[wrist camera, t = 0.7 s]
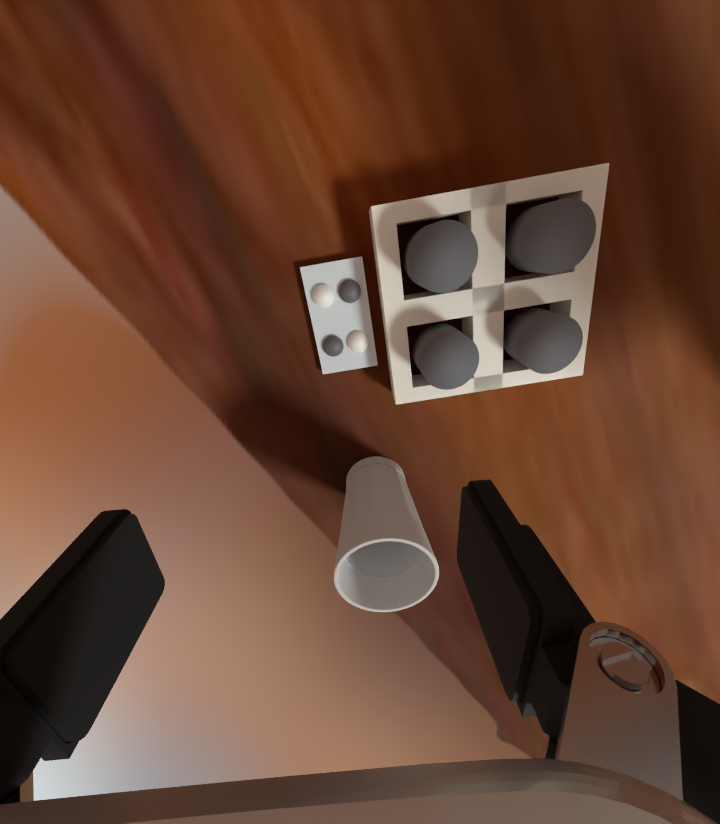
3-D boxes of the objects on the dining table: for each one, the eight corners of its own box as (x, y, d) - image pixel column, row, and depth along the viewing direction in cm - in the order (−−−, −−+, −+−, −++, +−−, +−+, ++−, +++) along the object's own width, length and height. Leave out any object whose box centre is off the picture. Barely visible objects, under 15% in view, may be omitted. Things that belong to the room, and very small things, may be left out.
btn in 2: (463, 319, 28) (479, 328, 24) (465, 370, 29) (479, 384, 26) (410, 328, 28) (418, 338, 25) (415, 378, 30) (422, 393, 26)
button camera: (461, 219, 24) (477, 213, 21) (462, 283, 26) (478, 287, 23) (400, 229, 25) (408, 226, 21) (406, 292, 27) (414, 298, 23)
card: (361, 256, 27) (362, 256, 26) (377, 363, 31) (377, 366, 30) (300, 267, 27) (299, 267, 27) (323, 372, 31) (322, 375, 30)
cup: (331, 455, 35) (324, 546, 24) (408, 444, 35) (435, 531, 24) (345, 514, 38) (343, 618, 27) (415, 504, 38) (441, 605, 27)
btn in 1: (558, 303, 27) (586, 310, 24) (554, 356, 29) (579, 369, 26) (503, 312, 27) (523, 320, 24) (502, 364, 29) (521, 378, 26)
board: (581, 172, 25) (609, 162, 22) (562, 364, 32) (582, 375, 29) (368, 211, 26) (370, 206, 23) (392, 391, 32) (396, 404, 29)
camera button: (567, 199, 24) (600, 191, 21) (561, 266, 26) (591, 268, 23) (505, 211, 24) (528, 204, 21) (504, 276, 26) (525, 279, 23)
